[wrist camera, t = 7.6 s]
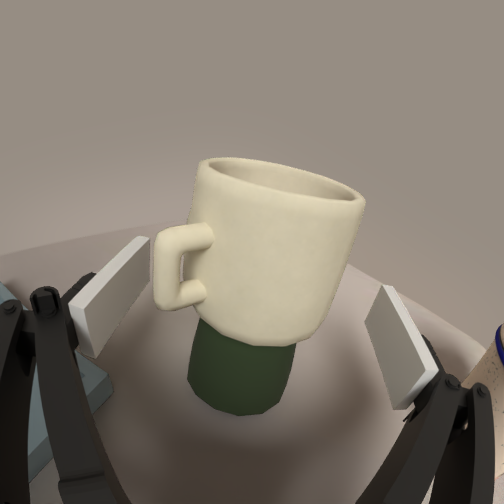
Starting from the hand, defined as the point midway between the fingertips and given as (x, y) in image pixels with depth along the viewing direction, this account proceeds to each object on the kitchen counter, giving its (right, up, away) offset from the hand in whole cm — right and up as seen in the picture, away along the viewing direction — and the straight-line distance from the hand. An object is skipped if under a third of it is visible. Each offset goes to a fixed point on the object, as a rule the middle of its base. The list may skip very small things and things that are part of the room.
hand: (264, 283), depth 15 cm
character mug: (-2, -7, +2) cm, 7 cm away
